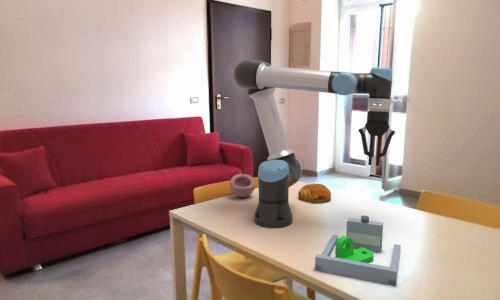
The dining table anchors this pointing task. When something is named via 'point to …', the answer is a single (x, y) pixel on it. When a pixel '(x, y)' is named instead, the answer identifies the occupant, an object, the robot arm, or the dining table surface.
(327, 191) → the croissant
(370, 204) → the dining table surface
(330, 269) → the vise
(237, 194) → the pink round pot
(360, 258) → the mechanical part
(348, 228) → the slide jaw
